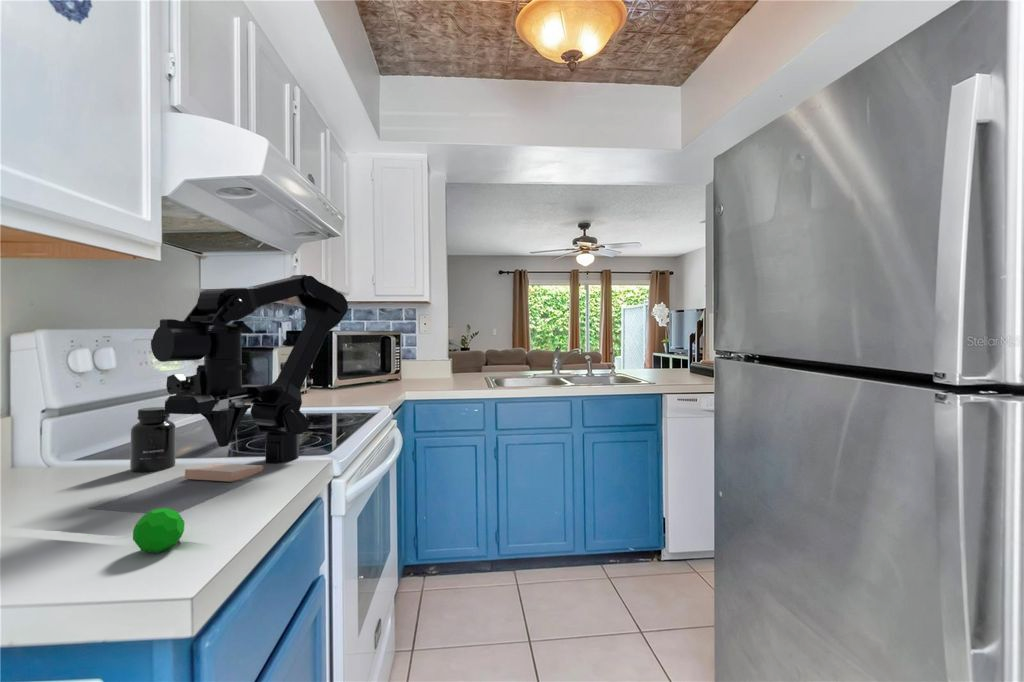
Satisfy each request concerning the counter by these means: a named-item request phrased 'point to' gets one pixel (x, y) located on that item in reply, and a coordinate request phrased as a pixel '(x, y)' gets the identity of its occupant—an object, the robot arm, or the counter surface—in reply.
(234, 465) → the tile
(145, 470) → the supplement bottle
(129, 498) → the mat
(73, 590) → the counter surface
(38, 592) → the counter surface
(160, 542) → the polyhedron
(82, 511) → the counter surface
